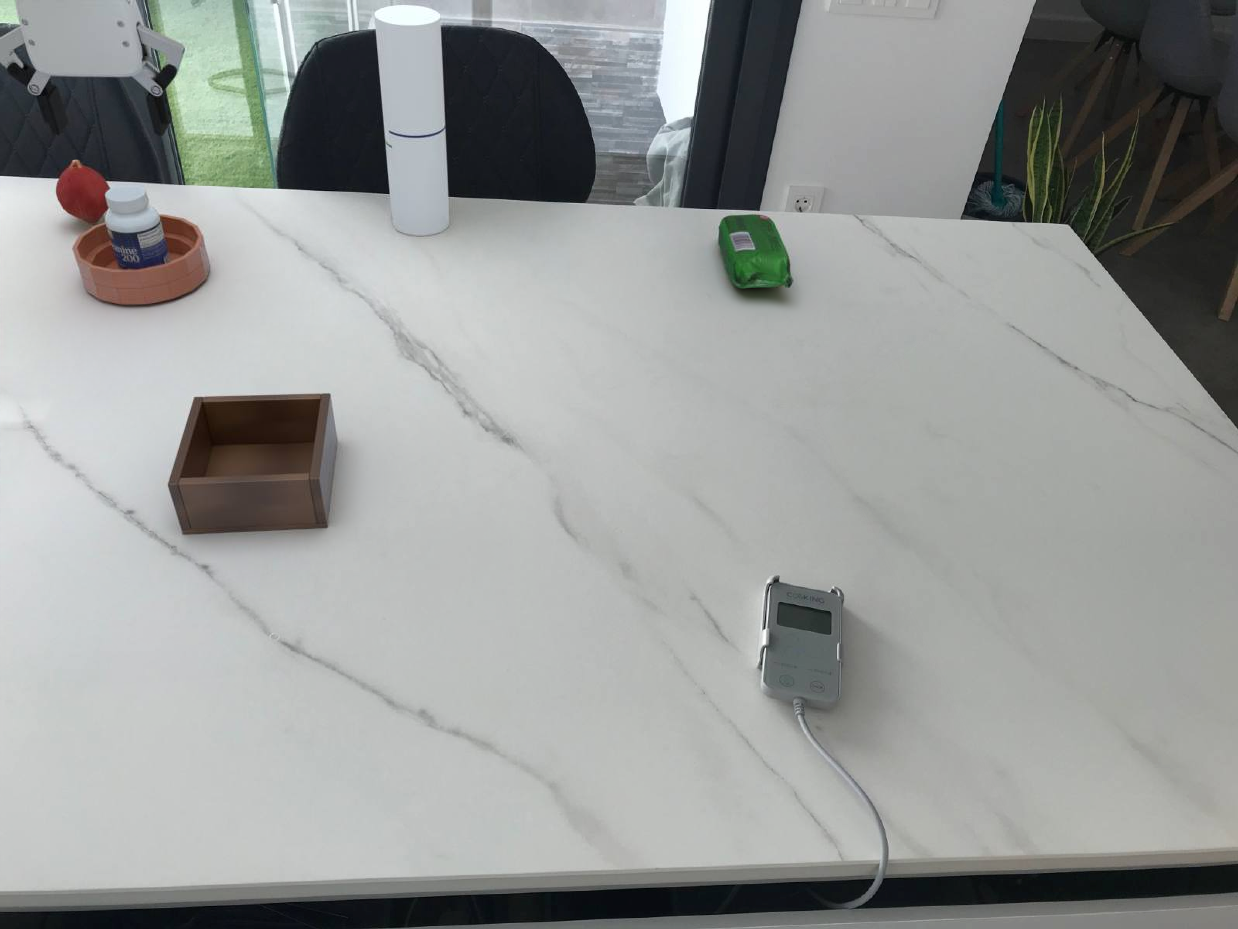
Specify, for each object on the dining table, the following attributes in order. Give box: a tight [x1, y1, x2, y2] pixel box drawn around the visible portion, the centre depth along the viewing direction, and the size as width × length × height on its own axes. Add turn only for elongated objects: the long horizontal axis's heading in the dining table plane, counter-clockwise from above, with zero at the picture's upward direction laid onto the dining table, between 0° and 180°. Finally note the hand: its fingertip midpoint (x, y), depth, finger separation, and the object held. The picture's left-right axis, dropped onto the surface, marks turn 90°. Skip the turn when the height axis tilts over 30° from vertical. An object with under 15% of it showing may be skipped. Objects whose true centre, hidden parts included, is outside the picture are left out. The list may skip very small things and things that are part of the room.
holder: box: [167, 392, 338, 535], centre depth 84 cm, size 12×12×6 cm
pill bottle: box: [104, 184, 171, 270], centre depth 107 cm, size 5×5×10 cm
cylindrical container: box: [373, 4, 450, 237], centre depth 116 cm, size 7×7×25 cm
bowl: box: [71, 213, 211, 305], centre depth 109 cm, size 13×13×4 cm
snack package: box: [717, 213, 795, 289], centre depth 119 cm, size 7×16×5 cm, turn 5°
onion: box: [55, 159, 111, 225], centre depth 116 cm, size 6×6×8 cm
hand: (112, 129), depth 99 cm, fingers open, 9 cm apart
